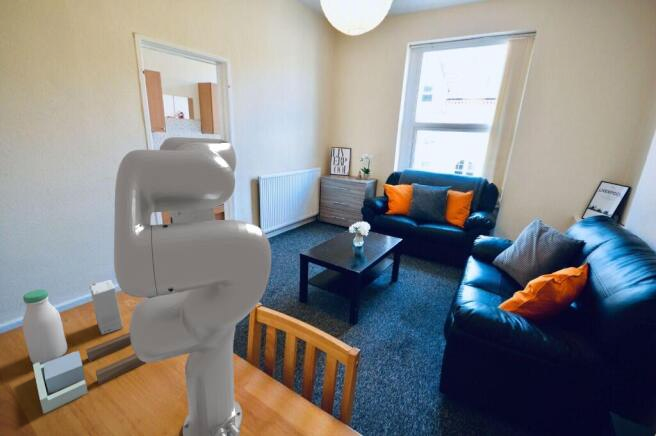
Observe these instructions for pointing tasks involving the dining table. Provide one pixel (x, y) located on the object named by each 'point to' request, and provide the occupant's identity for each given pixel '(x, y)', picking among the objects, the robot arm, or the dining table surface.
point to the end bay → (58, 397)
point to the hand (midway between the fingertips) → (195, 256)
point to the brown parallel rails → (117, 367)
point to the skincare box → (106, 306)
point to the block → (63, 371)
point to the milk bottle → (42, 328)
